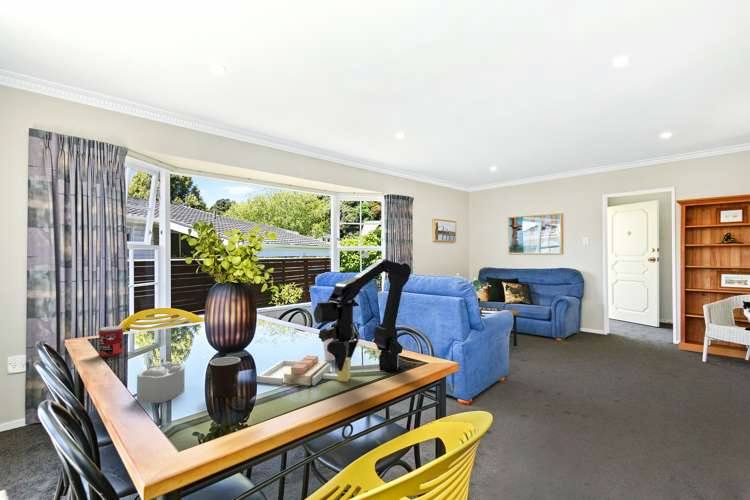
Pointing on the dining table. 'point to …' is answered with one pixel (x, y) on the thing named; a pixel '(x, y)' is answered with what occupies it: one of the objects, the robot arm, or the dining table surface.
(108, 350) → the canned food
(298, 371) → the tile
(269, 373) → the tray
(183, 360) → the dining table surface
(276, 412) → the dining table surface
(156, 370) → the lumpy-topped squat cylinder
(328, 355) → the smoothie
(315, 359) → the tile
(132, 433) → the dining table surface
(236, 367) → the coffee mug
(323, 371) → the scraper
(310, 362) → the tile
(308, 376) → the shallow cream open box
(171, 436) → the dining table surface
